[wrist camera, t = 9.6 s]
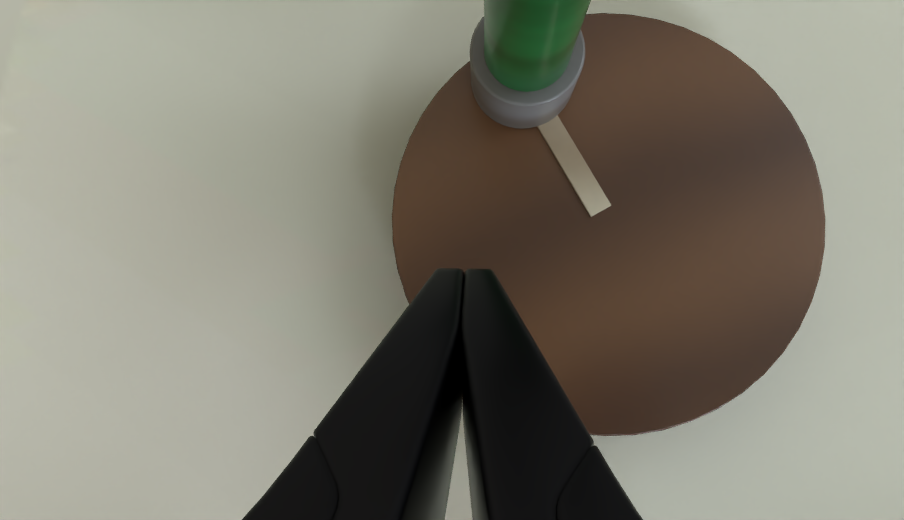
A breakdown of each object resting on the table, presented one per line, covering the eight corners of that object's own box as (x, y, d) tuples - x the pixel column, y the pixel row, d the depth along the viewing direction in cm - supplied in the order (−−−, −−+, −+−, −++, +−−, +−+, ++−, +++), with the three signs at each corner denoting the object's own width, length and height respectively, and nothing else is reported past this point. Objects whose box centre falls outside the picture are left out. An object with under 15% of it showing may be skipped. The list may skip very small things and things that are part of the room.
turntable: (880, 301, 17) (1596, 288, 6) (520, 500, 17) (587, 843, 6) (662, -36, 19) (928, -544, 8) (330, 150, 19) (106, -81, 8)
